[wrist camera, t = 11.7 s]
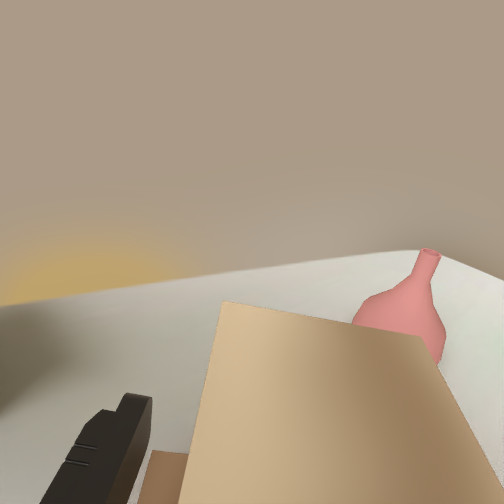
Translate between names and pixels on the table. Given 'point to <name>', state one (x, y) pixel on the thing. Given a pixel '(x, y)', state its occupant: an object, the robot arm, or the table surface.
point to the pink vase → (408, 307)
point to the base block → (163, 478)
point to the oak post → (328, 419)
